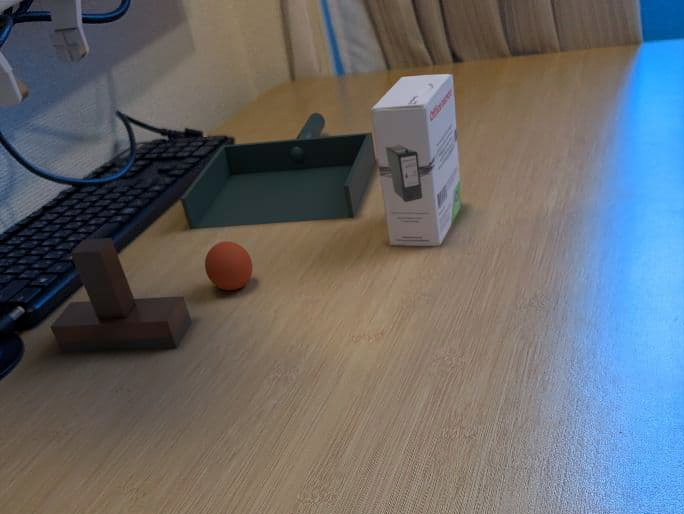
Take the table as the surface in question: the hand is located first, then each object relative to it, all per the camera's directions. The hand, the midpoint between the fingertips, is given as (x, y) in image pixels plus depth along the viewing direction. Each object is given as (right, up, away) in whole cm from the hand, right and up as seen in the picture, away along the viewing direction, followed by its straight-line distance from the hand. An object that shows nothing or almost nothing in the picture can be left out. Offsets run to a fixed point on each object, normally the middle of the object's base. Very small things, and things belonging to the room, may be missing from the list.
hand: (46, 79), depth 54 cm
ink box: (+26, -1, +23) cm, 34 cm away
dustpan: (+12, +10, +36) cm, 40 cm away
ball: (+8, -7, +17) cm, 20 cm away
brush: (+1, -14, +14) cm, 19 cm away
